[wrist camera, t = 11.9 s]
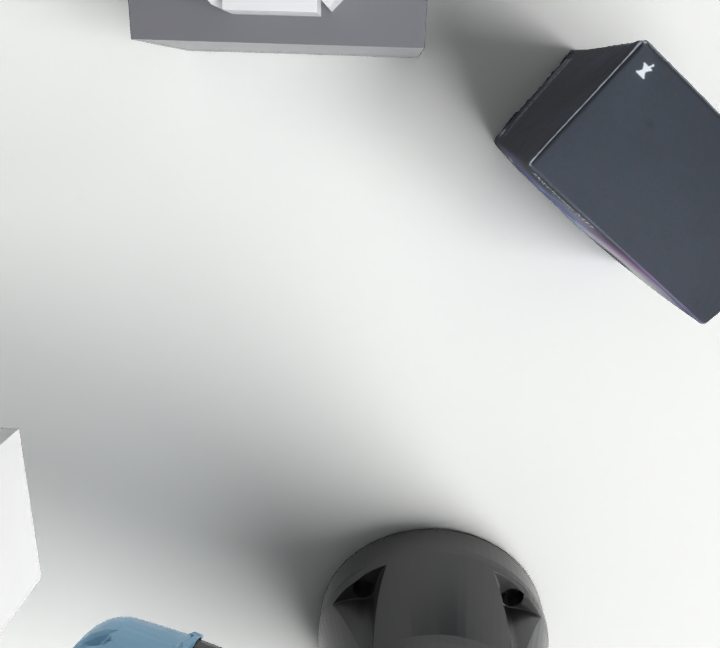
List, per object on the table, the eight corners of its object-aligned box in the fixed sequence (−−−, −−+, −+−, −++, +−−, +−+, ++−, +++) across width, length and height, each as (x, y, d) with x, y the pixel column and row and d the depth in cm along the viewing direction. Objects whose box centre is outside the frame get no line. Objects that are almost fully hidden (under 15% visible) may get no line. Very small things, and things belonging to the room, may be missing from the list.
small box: (484, 146, 36) (518, 166, 26) (573, 45, 34) (646, 26, 24) (622, 270, 38) (703, 334, 28) (713, 181, 36) (834, 215, 26)
